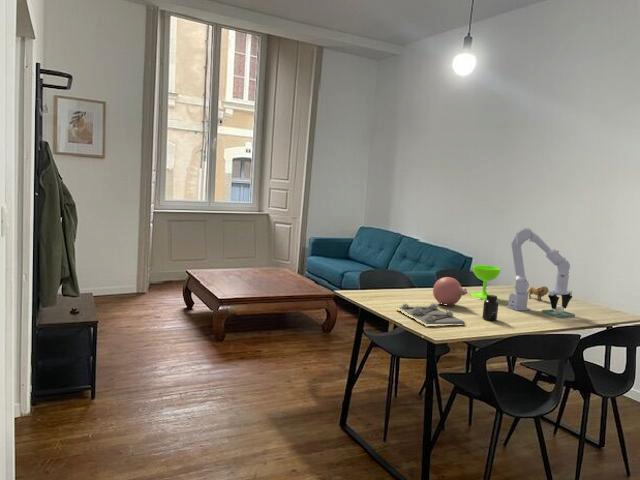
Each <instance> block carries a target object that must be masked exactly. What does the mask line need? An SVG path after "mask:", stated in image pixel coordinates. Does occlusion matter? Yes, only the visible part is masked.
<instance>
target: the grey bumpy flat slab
mask: <svg viewBox="0 0 640 480" xmlns="http://www.w3.org/2000/svg"><path fill="white" fill-rule="evenodd" d="M436 303H437V302H434V303H429V304H428V305H426V306H425V305H423V306H422V305H420V306H419V305H416V306H409V304H408V303H406V302H404V303H402V304H401V305H400V306H398V307H399V308H400V309H402V310H404V311H405V312H407V313H408V314H410V315H412V316H413V317H415V318H417V319H419V320H421V321H422V322H424V323H426V324H464V325H465V324H466V322H465V321H464V320H462V319H461V318H458V317H457V316H454V312H453V311H452V310H451V309H448V310H445V311H443V310H441V309H439V306H438V303H437V304H436Z"/></svg>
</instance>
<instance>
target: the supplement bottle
mask: <svg viewBox="0 0 640 480" xmlns="http://www.w3.org/2000/svg"><path fill="white" fill-rule="evenodd" d="M497 298H498V295H494V294H491V295H487V298H486V299H487V300H483V307H482V308H483V309H482V319H483V318H484V319H483V320H485V319H486V320H485V321H488V320H490V321H489V322H495V321H497V319H498V313H499V312H498V311H499V301H497V300H498V299H497Z"/></svg>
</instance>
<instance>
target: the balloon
mask: <svg viewBox="0 0 640 480" xmlns="http://www.w3.org/2000/svg"><path fill="white" fill-rule="evenodd" d="M432 294H433V297H434V299H435V300H436V301H437V302H438V303H439V304H441V303H442V304H441V305H443V304H447V305H446V306H452V305H455V304H457V303H458V302H459V301H460V300H461V299H462V296H465V295H467V294H468V291H467V288H466V287H464V288H463V287H462V285H461V283H460V282H459V281H458V280H457V279H456V278H454V277H451V276H450V277H449V276H445V277H441V278H439V279H437V281H436V282H435V283H434V285H433V289H432Z"/></svg>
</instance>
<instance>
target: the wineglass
mask: <svg viewBox="0 0 640 480" xmlns="http://www.w3.org/2000/svg"><path fill="white" fill-rule="evenodd" d="M501 269H502V268H501V267H498V266H491V265H487V264H486V265H484V264H474V265H472V272H473V274H474V276H475V277H476V278H477V279H479V280H480V281H483V282H482V290H481V292H472V293H470V294H471V295H472V296H473V297H476V298H480V299H485V300H487V299H486V298H487V295H492V294H491V293H487V282H489V281H493V280H494V279H497V278H498V276H499V275H500V273H501ZM480 299H479V300H480ZM485 300H484V301H485ZM497 300H499V299H498V297H497Z"/></svg>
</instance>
